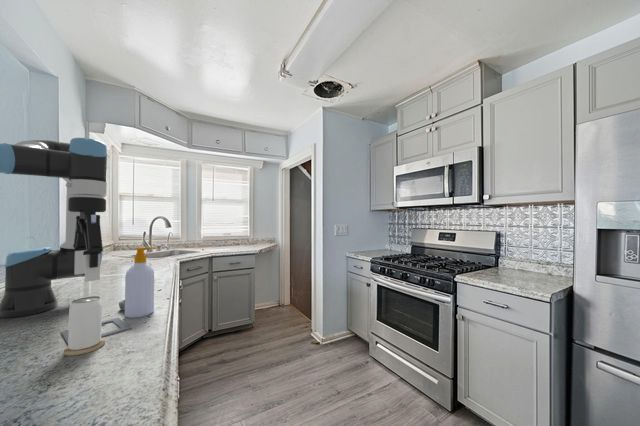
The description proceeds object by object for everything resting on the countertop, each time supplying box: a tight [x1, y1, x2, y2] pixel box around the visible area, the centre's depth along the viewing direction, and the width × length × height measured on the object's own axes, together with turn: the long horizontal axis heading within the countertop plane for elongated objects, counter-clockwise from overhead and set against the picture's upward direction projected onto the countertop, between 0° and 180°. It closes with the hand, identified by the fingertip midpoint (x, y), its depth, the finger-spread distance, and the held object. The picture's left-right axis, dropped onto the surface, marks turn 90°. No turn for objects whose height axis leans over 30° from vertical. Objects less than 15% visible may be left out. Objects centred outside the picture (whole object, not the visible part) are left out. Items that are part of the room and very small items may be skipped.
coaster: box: [63, 338, 106, 357], centre depth 68 cm, size 8×8×1 cm
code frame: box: [60, 317, 133, 345], centre depth 79 cm, size 14×14×1 cm
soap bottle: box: [124, 246, 157, 319], centre depth 94 cm, size 9×9×24 cm
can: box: [67, 295, 103, 351], centre depth 68 cm, size 6×6×12 cm
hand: (86, 277), depth 69 cm, fingers open, 13 cm apart
